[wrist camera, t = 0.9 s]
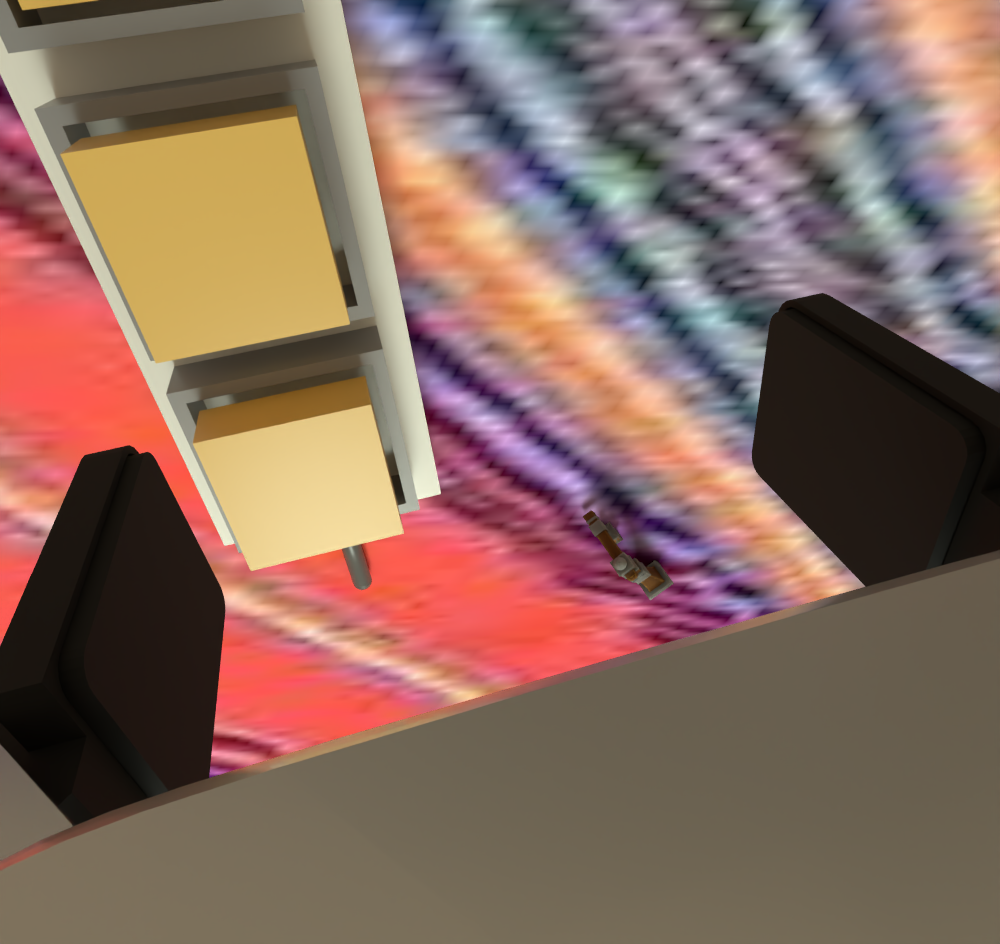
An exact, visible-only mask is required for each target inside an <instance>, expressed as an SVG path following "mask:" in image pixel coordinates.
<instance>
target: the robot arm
mask: <svg viewBox="0 0 1000 944" xmlns="http://www.w3.org/2000/svg"><path fill="white" fill-rule="evenodd" d="M752 461H753V465H754V468H755V470H756V472H757V473H758V475H759V476H760V477H761V478H762V479H763V480H764V481H765V482H766V483H767V484H768V485H769V486H770V487H771V488H772V490H773V491H774V492H775V493H776V494H777V495H778V496H779V497H780V498H781V499H782V500H783V501H784V502H785V503H786V504H787V505H788V506H789V507H790V508H791V509H792V510H793V511H794V512H795V513H796V514H797V516H798V517H799V518H800V519H801V520H802V521H803V522H804V523H805V524H806V525H807V526H808V527H809V528H810V529H811V530H812V531H813V532H814V533H815V534H816V535H817V536H818V537H819V538H820V539H821V541H822V542H823V543H824V544H825V545H826V546H827V547H828V548H829V549H830V550H831V551H832V552H833V553H834V554H835V555H836V556H837V557H838V558H839V559H840V560H841V561H842V562H843V563H844V564H845V566H846V567H847V568H848V569H849V570H850V571H851V572H852V573H853V574H854V575H855V576H856V577H857V578H858V579H859V580H860V581H861V582H862V583H863V584H864V585H865V586H866V587H864V588H860V589H856V590H853V591H849V592H846V593H842V594H839V595H835V596H831V597H828V598H824V599H821V600H817V601H814V602H810V603H806V604H803V605H799V606H796V607H792V608H789V609H785V610H781V611H778V612H774V613H771V614H767V615H764V616H760V617H757V618H753V619H750V620H746V621H743V622H739V623H736V624H732V625H729V626H725V627H722V628H718V629H715V630H711V631H708V632H704V633H701V634H697V635H694V636H690V637H687V638H683V639H680V640H676V641H673V642H669V643H666V644H662V645H659V646H655V647H652V648H648V649H645V650H641V651H638V652H634V653H631V654H627V655H624V656H620V657H617V658H613V659H610V660H606V661H603V662H599V663H596V664H592V665H589V666H585V667H582V668H578V669H575V670H571V671H568V672H564V673H561V674H557V675H554V676H550V677H547V678H544V679H540V680H537V681H533V682H530V683H526V684H523V685H520V686H516V687H513V688H509V689H506V690H502V691H499V692H496V693H492V694H489V695H485V696H482V697H478V698H475V699H472V700H468V701H465V702H461V703H458V704H454V705H451V706H448V707H444V708H441V709H437V710H434V711H430V712H427V713H424V714H420V715H417V716H413V717H410V718H406V719H403V720H400V721H396V722H393V723H389V724H386V725H382V726H379V727H376V728H372V729H369V730H365V731H362V732H358V733H355V734H352V735H348V736H345V737H341V738H338V739H334V740H331V741H328V742H325V743H321V744H318V745H315V746H312V747H308V748H305V749H302V750H299V751H295V752H292V753H289V754H286V755H282V756H279V757H276V758H273V759H269V760H266V761H263V762H260V763H256V764H253V765H250V766H247V767H243V768H240V769H237V770H234V771H230V772H227V773H224V774H221V775H217V776H214V777H211V778H209V772H210V762H211V752H212V742H213V732H214V722H215V711H216V701H217V691H218V681H219V671H220V660H221V650H222V640H223V630H224V620H225V601H224V596H223V593H222V589H221V587H220V585H219V583H218V581H217V579H216V577H215V575H214V573H213V571H212V569H211V567H210V565H209V563H208V561H207V559H206V557H205V555H204V553H203V551H202V550H201V548H200V546H199V544H198V542H197V540H196V538H195V536H194V534H193V532H192V530H191V528H190V526H189V524H188V522H187V520H186V518H185V516H184V514H183V512H182V510H181V508H180V506H179V504H178V502H177V500H176V498H175V496H174V495H173V493H172V491H171V489H170V487H169V485H168V483H167V481H166V479H165V477H164V475H163V473H162V471H161V469H160V467H159V465H158V463H157V461H156V460H155V458H154V456H153V455H152V454H151V453H149V452H146V453H141V454H139V453H138V452H137V451H136V449H135V448H134V447H132V446H130V445H129V446H124V447H120V448H115V449H110V450H106V451H101V452H97V453H92V454H88V455H84V457H83V458H82V459H81V462H80V464H79V466H78V468H77V471H76V473H75V475H74V478H73V480H72V482H71V485H70V487H69V489H68V492H67V494H66V496H65V499H64V501H63V503H62V505H61V508H60V510H59V512H58V515H57V517H56V519H55V522H54V524H53V526H52V529H51V531H50V533H49V536H48V538H47V540H46V543H45V545H44V547H43V549H42V552H41V554H40V556H39V559H38V561H37V563H36V566H35V568H34V570H33V573H32V574H31V576H30V579H29V581H28V583H27V586H26V588H25V590H24V593H23V595H22V597H21V600H20V602H19V604H18V606H17V609H16V611H15V613H14V616H13V618H12V620H11V623H10V625H9V627H8V630H7V632H6V634H5V636H4V639H3V641H2V643H1V646H0V944H1000V393H998V392H996V391H994V390H993V389H991V388H989V387H987V386H986V385H984V384H982V383H980V382H979V381H977V380H975V379H974V378H972V377H970V376H968V375H967V374H965V373H963V372H961V371H960V370H958V369H956V368H954V367H953V366H951V365H949V364H947V363H946V362H944V361H942V360H940V359H939V358H937V357H935V356H934V355H932V354H930V353H928V352H927V351H925V350H923V349H921V348H920V347H918V346H916V345H914V344H913V343H911V342H909V341H907V340H906V339H904V338H902V337H900V336H899V335H897V334H895V333H893V332H892V331H890V330H888V329H887V328H885V327H883V326H881V325H880V324H878V323H876V322H874V321H873V320H871V319H869V318H867V317H866V316H864V315H862V314H860V313H859V312H857V311H855V310H853V309H852V308H850V307H848V306H846V305H845V304H843V303H841V302H840V301H838V300H836V299H834V298H833V297H831V296H829V295H827V294H824V293H821V294H816V295H811V296H807V297H802V298H798V299H793V300H789V301H786V302H785V303H783V304H782V306H781V307H780V309H779V312H777V313H775V314H774V315H773V316H772V318H771V321H770V325H769V332H768V340H767V347H766V354H765V361H764V369H763V376H762V383H761V390H760V398H759V405H758V412H757V419H756V427H755V434H754V441H753V448H752Z"/></svg>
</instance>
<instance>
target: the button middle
mask: <svg viewBox="0 0 1000 944" xmlns="http://www.w3.org/2000/svg"><path fill="white" fill-rule="evenodd" d="M60 155H61V157H62V159H63V162H64V164H65V166H66V168H67V170H68V173H69V175H70V177H71V179H72V181H73V184H74V186H75V188H76V190H77V192H78V194H79V197H80V199H81V201H82V203H83V205H84V208H85V210H86V212H87V214H88V216H89V218H90V221H91V223H92V225H93V227H94V229H95V232H96V234H97V236H98V238H99V240H100V242H101V245H102V247H103V249H104V251H105V253H106V256H107V258H108V260H109V262H110V264H111V267H112V269H113V271H114V273H115V275H116V277H117V280H118V282H119V284H120V286H121V288H122V291H123V293H124V295H125V297H126V299H127V301H128V304H129V306H130V308H131V310H132V312H133V315H134V317H135V319H136V321H137V323H138V325H139V328H140V330H141V332H142V334H143V336H144V339H145V341H146V343H147V345H148V347H149V350H150V352H151V354H152V356H153V358H154V360H155V363H161V362H166V361H171V360H176V359H181V358H186V357H191V356H196V355H201V354H206V353H211V352H216V351H221V350H226V349H231V348H236V347H241V346H246V345H250V344H255V343H260V342H265V341H270V340H275V339H280V338H285V337H290V336H295V335H300V334H305V333H310V332H315V331H320V330H325V329H330V328H335V327H339V326H344V325H349V324H350V320H349V315H348V309H347V304H346V298H345V295H344V291H343V287H342V283H341V279H340V275H339V271H338V267H337V263H336V259H335V255H334V251H333V247H332V244H331V240H330V236H329V232H328V228H327V224H326V220H325V216H324V212H323V208H322V204H321V200H320V196H319V193H318V189H317V185H316V181H315V177H314V173H313V169H312V165H311V161H310V157H309V153H308V149H307V145H306V142H305V138H304V134H303V130H302V126H301V122H300V118H299V114H298V110H297V106H296V105H290V106H284V107H278V108H271V109H265V110H258V111H252V112H246V113H239V114H233V115H227V116H220V117H214V118H208V119H201V120H195V121H189V122H182V123H176V124H169V125H163V126H157V127H150V128H144V129H138V130H131V131H125V132H119V133H112V134H106V135H100V136H93V137H87V138H81V139H79V140H78V141H77V142H75V143H74V144H73V145H71V146H70V147H69V148H67V149H66V150H65V151H63V152H62V153H61V154H60Z"/></svg>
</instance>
